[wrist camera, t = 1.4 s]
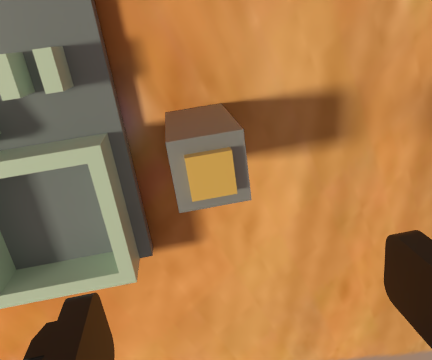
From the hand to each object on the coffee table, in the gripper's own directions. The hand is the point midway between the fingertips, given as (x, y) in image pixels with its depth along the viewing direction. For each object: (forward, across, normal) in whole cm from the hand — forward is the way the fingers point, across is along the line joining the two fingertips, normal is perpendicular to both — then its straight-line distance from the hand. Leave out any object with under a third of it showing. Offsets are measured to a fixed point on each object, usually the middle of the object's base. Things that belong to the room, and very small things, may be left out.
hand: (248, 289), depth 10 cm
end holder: (+17, +11, +4) cm, 20 cm away
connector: (+18, 0, 0) cm, 18 cm away
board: (+18, +11, -1) cm, 21 cm away
